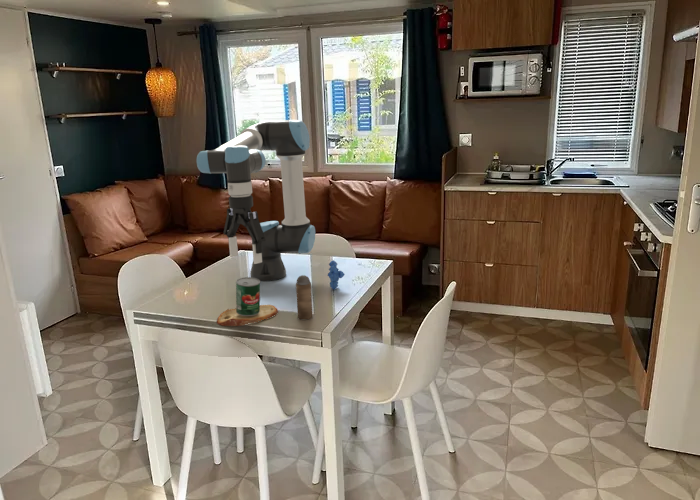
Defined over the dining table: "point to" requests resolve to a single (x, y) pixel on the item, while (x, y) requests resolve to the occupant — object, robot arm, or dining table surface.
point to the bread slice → (235, 319)
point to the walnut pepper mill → (304, 297)
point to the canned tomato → (247, 296)
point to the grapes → (334, 274)
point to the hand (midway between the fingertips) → (245, 259)
